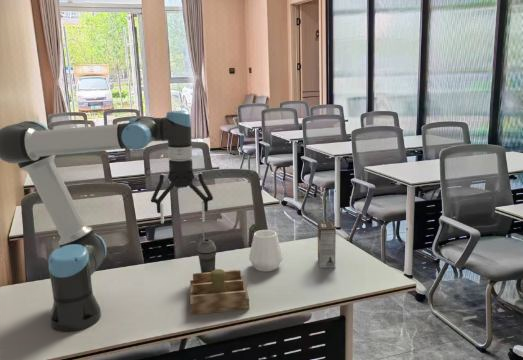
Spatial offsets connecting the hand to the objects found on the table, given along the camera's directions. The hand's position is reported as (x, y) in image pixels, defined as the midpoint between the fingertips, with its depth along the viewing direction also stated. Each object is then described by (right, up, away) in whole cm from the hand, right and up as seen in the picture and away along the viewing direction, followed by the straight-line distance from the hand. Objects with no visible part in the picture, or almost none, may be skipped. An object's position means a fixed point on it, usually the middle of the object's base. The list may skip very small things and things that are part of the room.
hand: (183, 221), depth 163 cm
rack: (+12, -27, +4) cm, 30 cm away
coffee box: (+52, -20, +31) cm, 64 cm away
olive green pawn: (+12, -27, 0) cm, 30 cm away
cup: (+28, -21, +30) cm, 46 cm away
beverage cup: (+6, -24, +20) cm, 32 cm away
